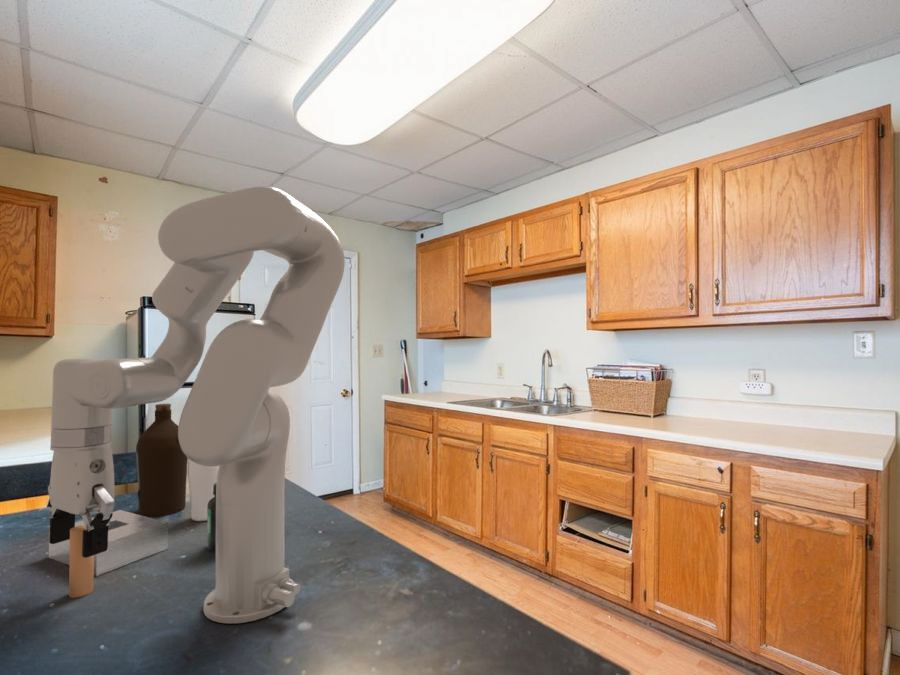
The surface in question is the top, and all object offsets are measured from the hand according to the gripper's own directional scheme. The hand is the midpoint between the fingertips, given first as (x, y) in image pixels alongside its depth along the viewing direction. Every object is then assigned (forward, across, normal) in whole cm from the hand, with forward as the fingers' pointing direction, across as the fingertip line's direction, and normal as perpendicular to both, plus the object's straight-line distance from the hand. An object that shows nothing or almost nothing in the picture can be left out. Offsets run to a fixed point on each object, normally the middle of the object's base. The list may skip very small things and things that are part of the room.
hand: (77, 547), depth 74 cm
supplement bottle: (+7, -6, -22) cm, 24 cm away
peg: (+7, -1, 0) cm, 7 cm away
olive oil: (+8, +26, -29) cm, 40 cm away
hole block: (+7, +11, -10) cm, 17 cm away
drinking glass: (+7, +12, -30) cm, 33 cm away
